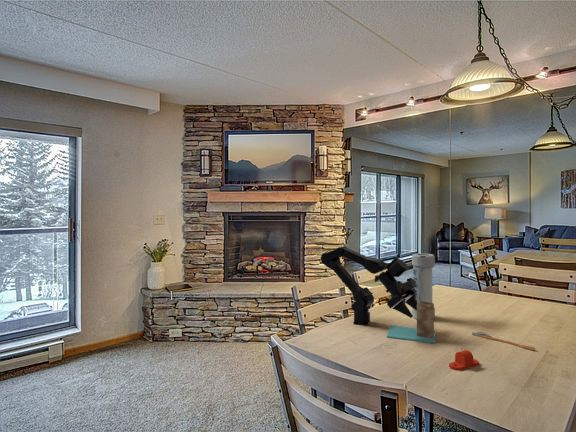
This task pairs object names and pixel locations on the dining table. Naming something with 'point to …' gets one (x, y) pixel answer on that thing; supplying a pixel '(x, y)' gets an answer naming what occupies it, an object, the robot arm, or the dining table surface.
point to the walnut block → (425, 319)
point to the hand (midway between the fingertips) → (416, 314)
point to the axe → (487, 336)
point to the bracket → (463, 361)
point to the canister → (423, 278)
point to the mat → (407, 334)
